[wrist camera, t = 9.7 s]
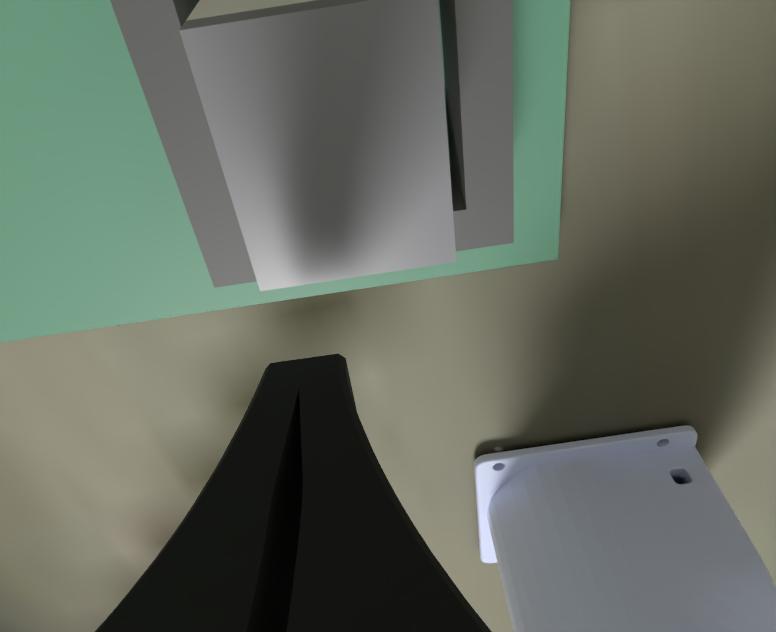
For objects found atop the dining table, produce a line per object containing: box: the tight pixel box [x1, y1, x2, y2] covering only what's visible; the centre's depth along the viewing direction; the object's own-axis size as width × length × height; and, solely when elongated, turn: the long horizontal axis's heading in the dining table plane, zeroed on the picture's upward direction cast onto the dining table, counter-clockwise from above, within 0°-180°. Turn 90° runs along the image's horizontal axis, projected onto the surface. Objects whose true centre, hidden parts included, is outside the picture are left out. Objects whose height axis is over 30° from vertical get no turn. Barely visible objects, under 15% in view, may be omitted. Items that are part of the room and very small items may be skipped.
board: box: [0, 0, 570, 343], centre depth 16 cm, size 22×14×4 cm, turn 97°
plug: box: [179, 0, 457, 291], centre depth 14 cm, size 4×5×6 cm
